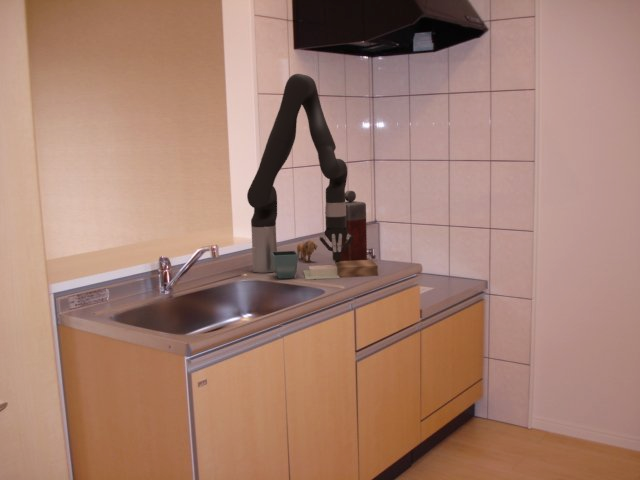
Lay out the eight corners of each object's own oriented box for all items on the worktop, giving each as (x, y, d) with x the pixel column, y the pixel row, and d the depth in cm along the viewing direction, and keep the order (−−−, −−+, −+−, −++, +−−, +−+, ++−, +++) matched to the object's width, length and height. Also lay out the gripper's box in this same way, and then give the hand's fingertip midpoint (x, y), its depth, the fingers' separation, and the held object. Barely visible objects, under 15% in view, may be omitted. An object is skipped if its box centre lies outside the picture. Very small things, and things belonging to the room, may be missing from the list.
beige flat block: (310, 276, 260) (309, 269, 259) (309, 272, 265) (308, 266, 265) (337, 274, 260) (337, 268, 260) (336, 271, 266) (335, 264, 266)
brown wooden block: (338, 277, 257) (338, 267, 257) (335, 270, 269) (335, 261, 269) (377, 275, 259) (377, 265, 258) (372, 268, 270) (372, 259, 270)
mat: (305, 279, 255) (305, 279, 254) (303, 271, 270) (302, 270, 270) (339, 278, 256) (339, 277, 255) (334, 269, 271) (334, 268, 271)
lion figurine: (319, 262, 287) (319, 240, 285) (308, 264, 284) (307, 241, 282) (300, 257, 299) (299, 236, 297) (289, 259, 296) (288, 237, 295)
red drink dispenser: (349, 256, 297) (348, 189, 292) (367, 260, 288) (366, 190, 283) (332, 259, 291) (330, 190, 287) (349, 263, 283) (348, 192, 278)
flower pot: (295, 274, 265) (294, 250, 264) (299, 279, 256) (298, 254, 255) (271, 275, 263) (270, 251, 262) (274, 280, 255) (273, 255, 253)
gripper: (318, 216, 256) (319, 264, 258) (355, 215, 257) (356, 263, 260) (316, 214, 263) (318, 260, 266) (352, 212, 264) (353, 259, 267)
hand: (336, 261), depth 263 cm, fingers closed
